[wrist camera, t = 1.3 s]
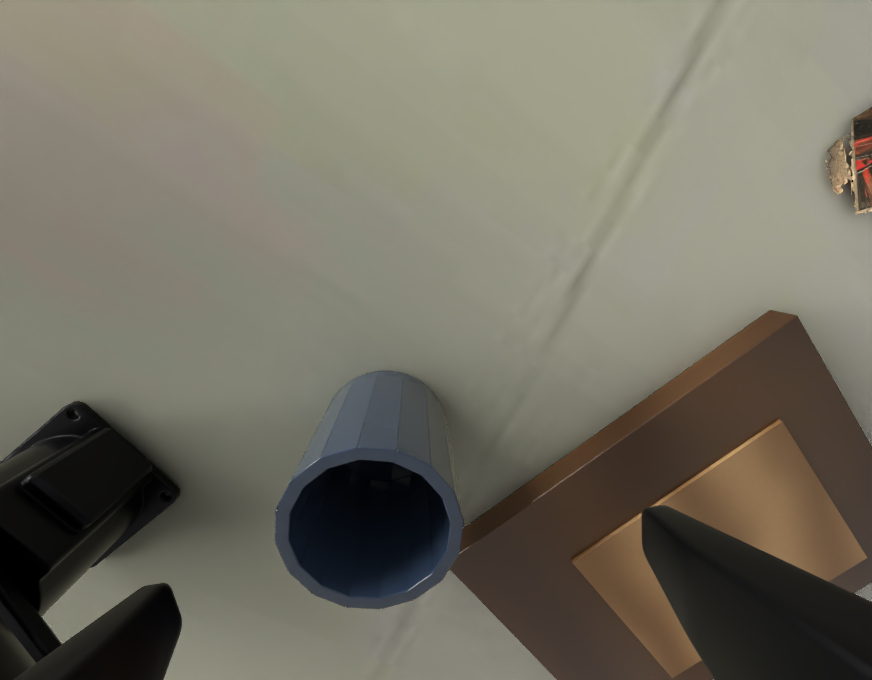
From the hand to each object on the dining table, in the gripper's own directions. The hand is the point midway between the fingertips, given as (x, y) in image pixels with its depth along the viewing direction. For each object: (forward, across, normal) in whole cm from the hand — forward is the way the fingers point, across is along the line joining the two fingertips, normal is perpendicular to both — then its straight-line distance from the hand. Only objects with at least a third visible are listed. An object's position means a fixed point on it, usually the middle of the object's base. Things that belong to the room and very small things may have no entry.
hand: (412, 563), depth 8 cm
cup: (+12, +2, +3) cm, 13 cm away
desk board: (+12, -13, +12) cm, 21 cm away
